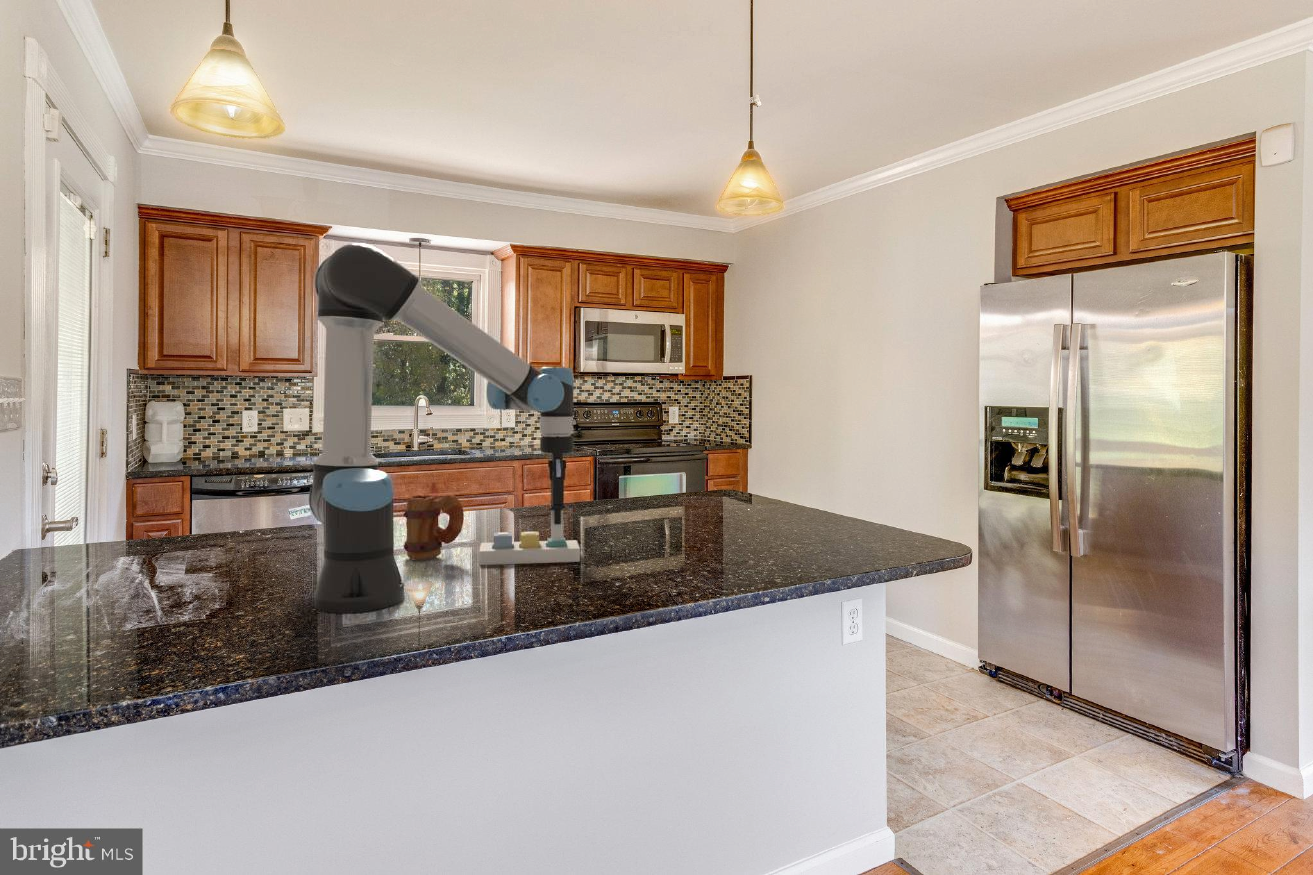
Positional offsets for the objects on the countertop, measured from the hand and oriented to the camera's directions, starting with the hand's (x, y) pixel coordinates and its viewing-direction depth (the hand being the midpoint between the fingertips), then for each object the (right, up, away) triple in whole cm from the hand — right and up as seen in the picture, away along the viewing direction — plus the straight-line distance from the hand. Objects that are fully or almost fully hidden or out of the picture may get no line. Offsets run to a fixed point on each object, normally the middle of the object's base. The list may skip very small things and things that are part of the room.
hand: (557, 537), depth 165 cm
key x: (-6, -2, -1) cm, 7 cm away
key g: (0, -4, 0) cm, 4 cm away
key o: (-12, -2, -2) cm, 12 cm away
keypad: (-6, -5, -1) cm, 8 cm away
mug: (-28, -5, -3) cm, 28 cm away
